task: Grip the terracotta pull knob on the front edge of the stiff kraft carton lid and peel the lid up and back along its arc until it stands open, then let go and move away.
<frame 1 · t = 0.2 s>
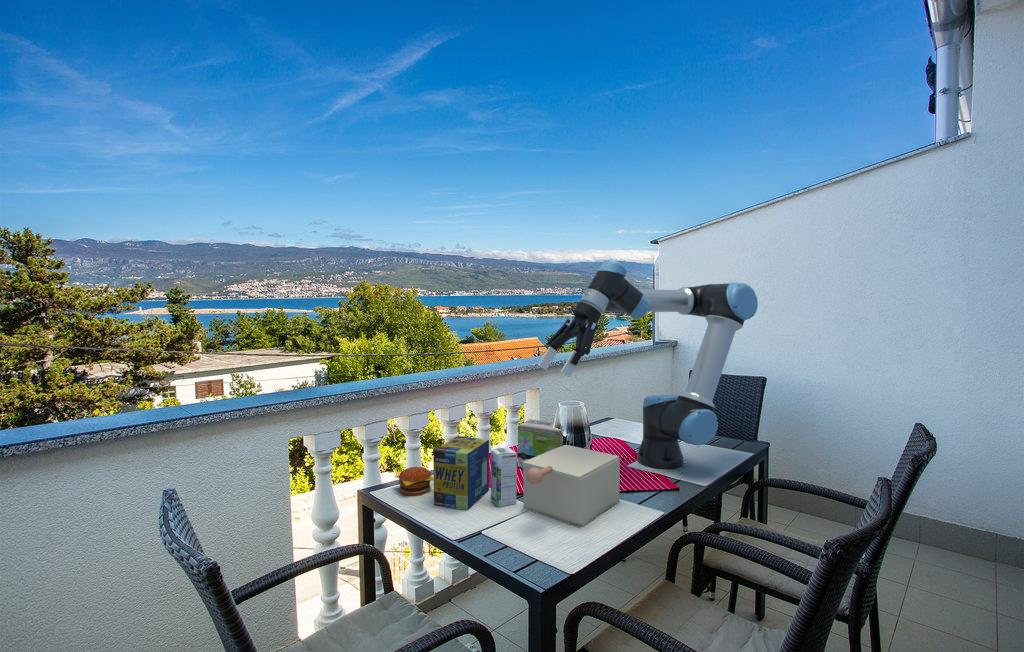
hand: (552, 371, 137), 36 cm above the table, tool tilted 35°, fingers open, 13 cm apart
carton: (572, 505, 133), on the table
lid: (563, 463, 129), point 13 cm above the table, hinge at 0.0°
syrup box: (503, 502, 136), on the table
tea box: (543, 468, 164), on the table
hamburger: (414, 491, 145), on the table
protein box: (462, 498, 139), on the table
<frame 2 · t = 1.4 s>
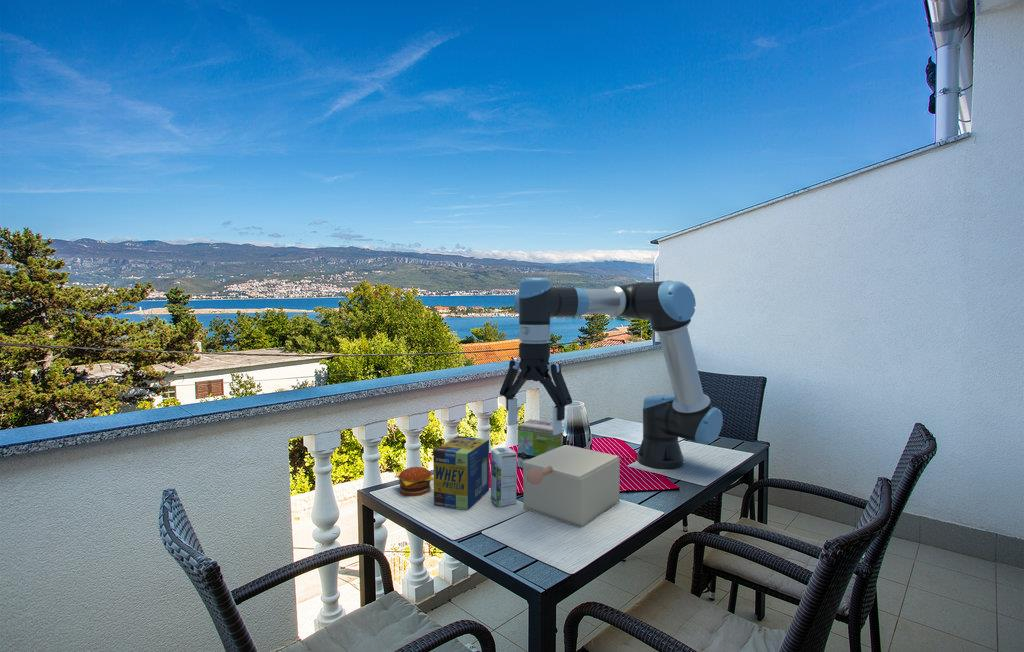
hand: (534, 429, 119), 24 cm above the table, tool pointing down, fingers open, 13 cm apart
nothing on the table moved.
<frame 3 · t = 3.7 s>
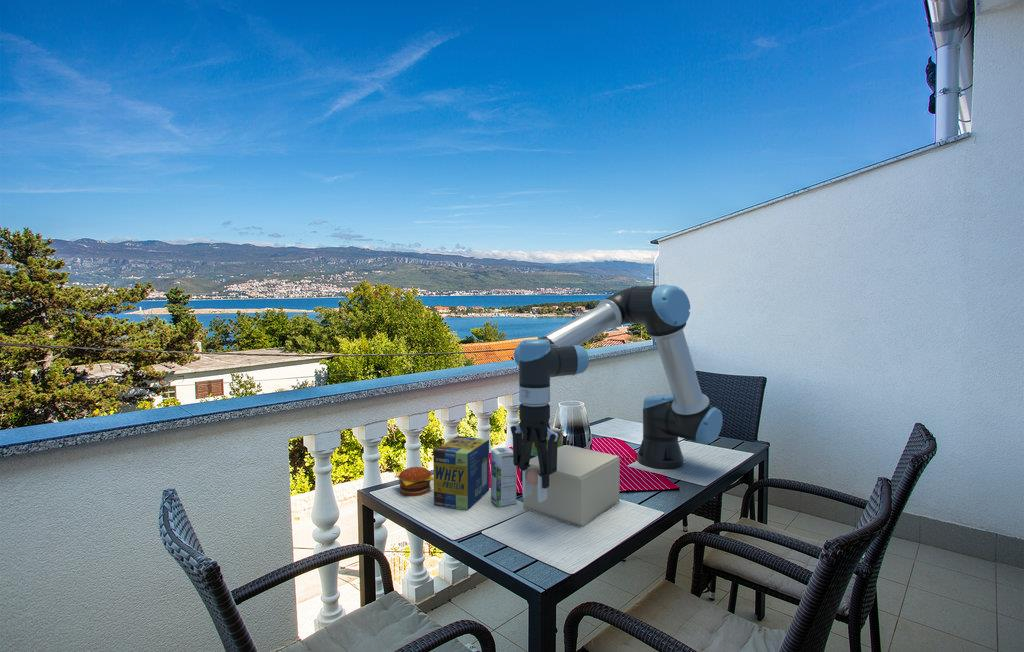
hand: (534, 497, 120), 7 cm above the table, tool pointing down, fingers closed on lid, 4 cm apart
lid: (563, 463, 129), point 13 cm above the table, hinge at 0.0°, touching gripper
everything else where it was.
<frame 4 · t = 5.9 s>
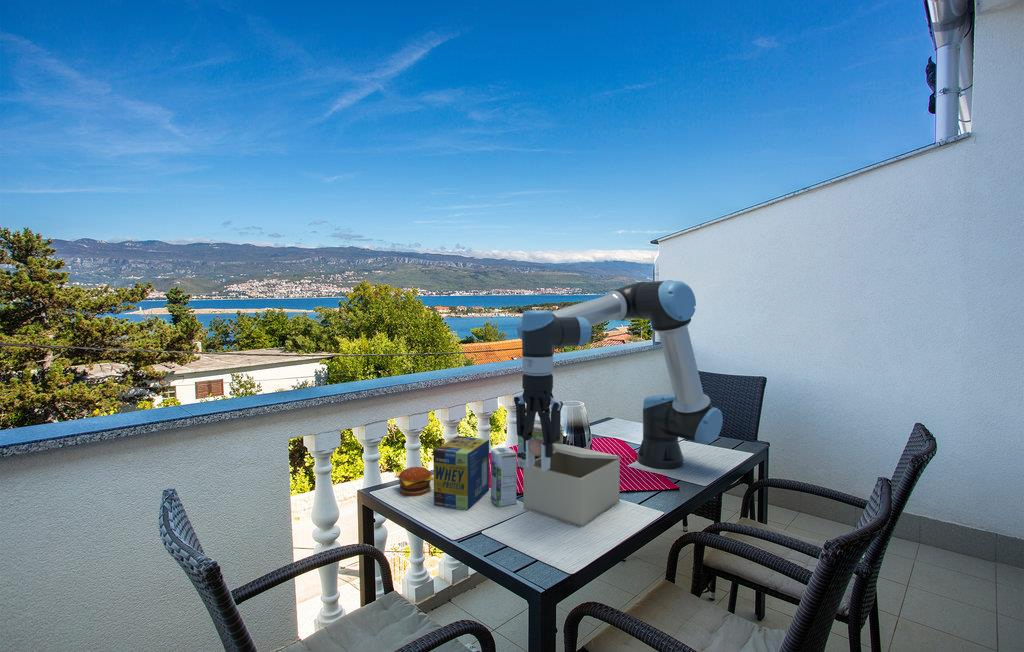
hand: (538, 467, 121), 15 cm above the table, tool pointing down, fingers closed on lid, 4 cm apart
lid: (564, 448, 130), point 17 cm above the table, hinge at 15.1°, touching gripper
everything else where it was.
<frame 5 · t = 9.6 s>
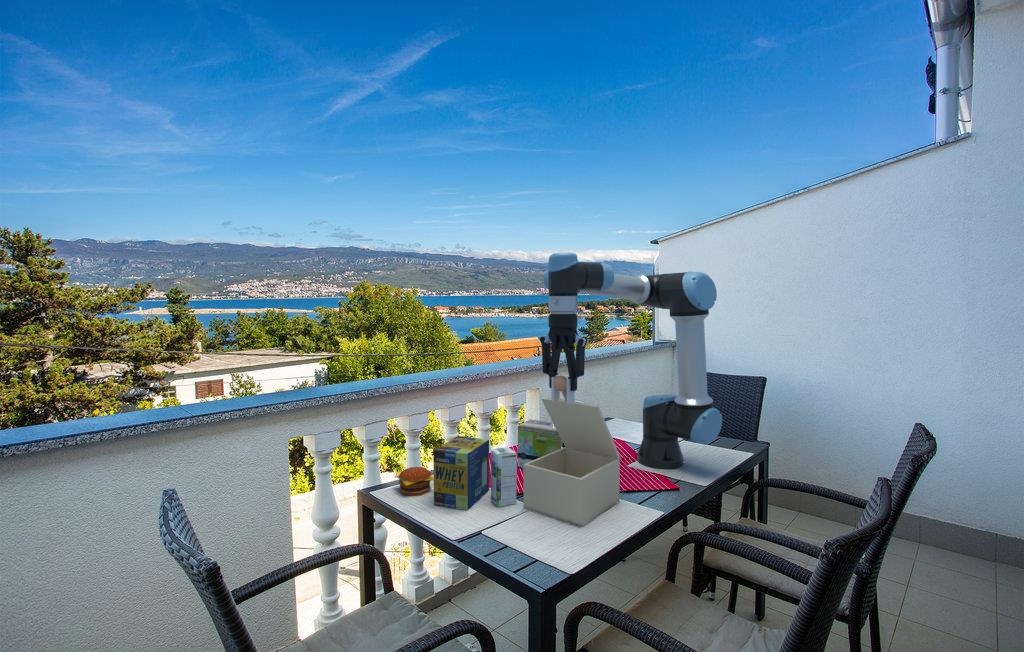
hand: (563, 401, 128), 29 cm above the table, tool pointing down, fingers closed on lid, 4 cm apart
lid: (576, 416, 134), point 24 cm above the table, hinge at 53.3°, touching gripper
everything else where it was.
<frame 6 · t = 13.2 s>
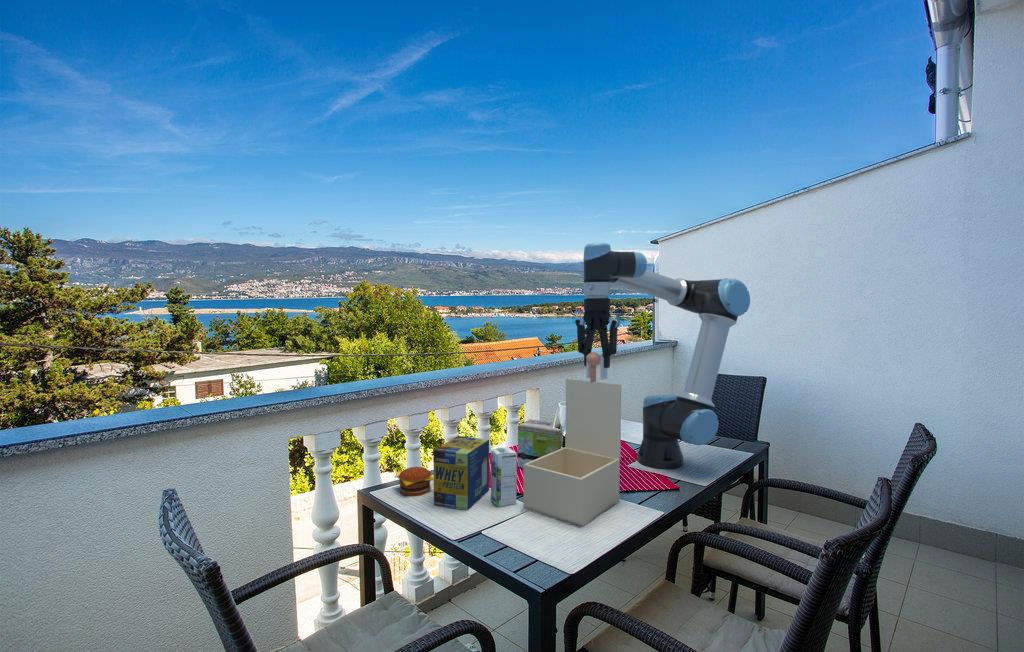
hand: (596, 378, 142), 33 cm above the table, tool pointing down, fingers closed on lid, 4 cm apart
lid: (592, 402, 141), point 26 cm above the table, hinge at 90.6°, touching gripper
everything else where it was.
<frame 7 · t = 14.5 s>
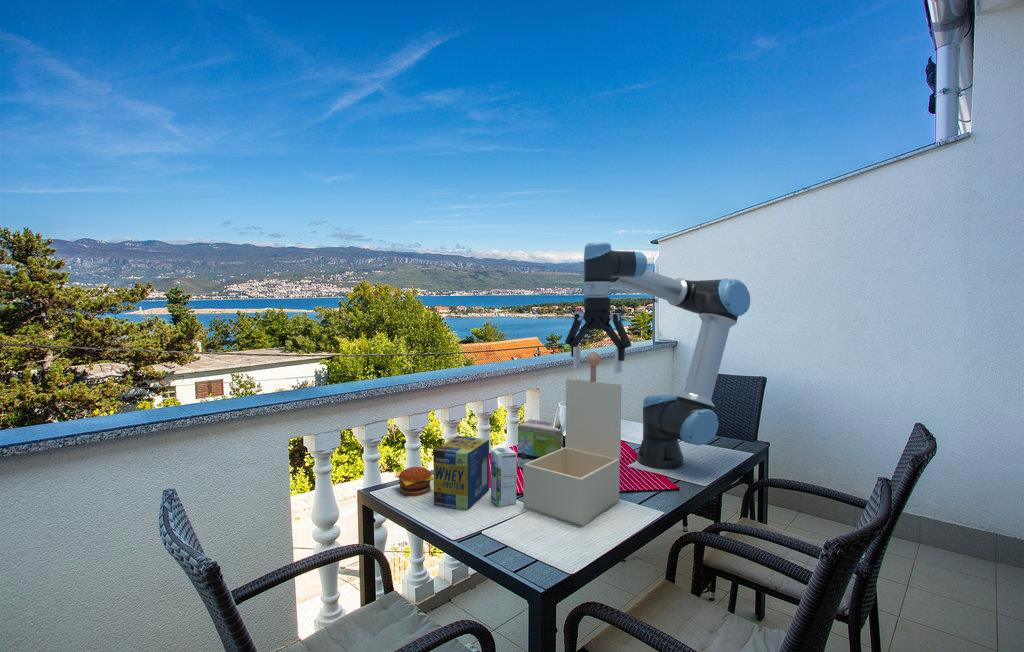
hand: (596, 370, 142), 36 cm above the table, tool pointing down, fingers open, 13 cm apart
lid: (593, 402, 141), point 26 cm above the table, hinge at 90.7°
everything else where it was.
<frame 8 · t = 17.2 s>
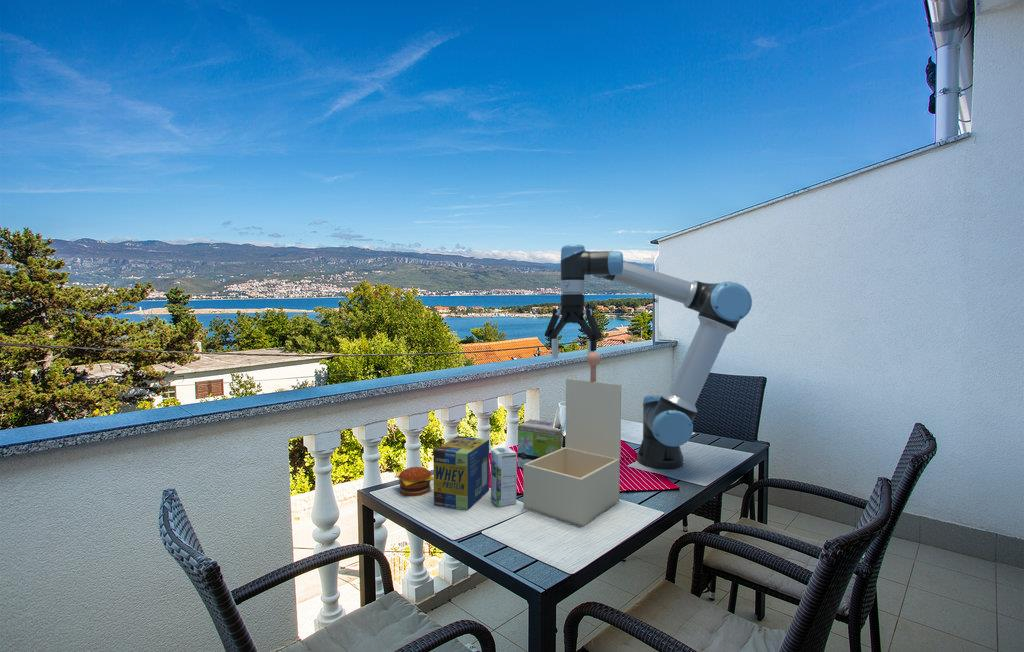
hand: (572, 360, 157), 37 cm above the table, tool pointing down, fingers open, 13 cm apart
nothing on the table moved.
at the end: lid at +91° (first picture: +0°); the gripper is holding nothing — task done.
